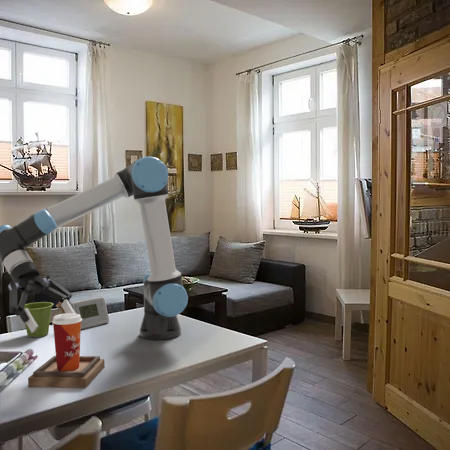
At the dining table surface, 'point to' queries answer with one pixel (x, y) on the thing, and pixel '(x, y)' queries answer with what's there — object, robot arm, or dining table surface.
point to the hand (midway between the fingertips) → (55, 324)
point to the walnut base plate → (67, 374)
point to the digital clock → (91, 312)
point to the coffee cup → (67, 340)
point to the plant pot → (39, 317)
